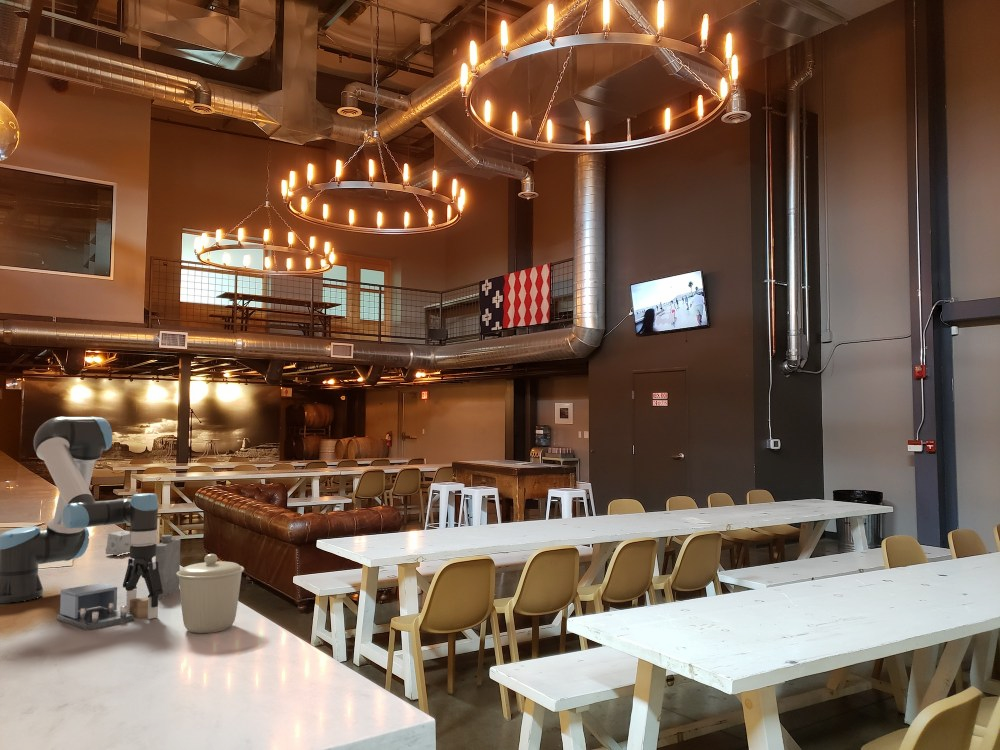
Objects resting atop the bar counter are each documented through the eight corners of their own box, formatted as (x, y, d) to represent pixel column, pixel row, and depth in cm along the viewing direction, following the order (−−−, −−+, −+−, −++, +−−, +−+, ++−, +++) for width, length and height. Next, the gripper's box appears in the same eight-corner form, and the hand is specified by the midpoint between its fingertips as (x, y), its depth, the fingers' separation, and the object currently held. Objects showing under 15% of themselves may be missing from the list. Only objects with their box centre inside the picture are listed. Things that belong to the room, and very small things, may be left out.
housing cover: (60, 613, 219) (60, 589, 220) (101, 605, 229) (102, 582, 229) (74, 618, 213) (75, 594, 214) (116, 610, 223) (117, 586, 223)
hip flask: (162, 598, 245) (164, 538, 247) (150, 598, 245) (151, 538, 246) (180, 588, 261) (181, 531, 262) (169, 588, 261) (170, 531, 262)
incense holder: (119, 557, 325) (120, 533, 326) (104, 556, 327) (105, 533, 328) (136, 553, 334) (137, 530, 335) (121, 552, 337) (122, 530, 337)
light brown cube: (129, 616, 223) (129, 599, 223) (145, 612, 227) (146, 596, 227) (137, 618, 220) (137, 601, 220) (153, 615, 224) (154, 598, 224)
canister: (177, 641, 196) (179, 562, 197) (172, 625, 212) (174, 552, 213) (247, 632, 204) (248, 556, 205) (238, 617, 220) (239, 546, 221)
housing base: (57, 619, 219) (57, 604, 219) (102, 610, 229) (102, 596, 230) (87, 630, 207) (87, 614, 207) (133, 620, 217) (133, 605, 218)
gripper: (176, 546, 220) (174, 618, 219) (135, 539, 235) (134, 606, 234) (151, 549, 214) (150, 623, 213) (112, 542, 229) (110, 611, 228)
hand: (141, 614), depth 223 cm, fingers open, 13 cm apart
